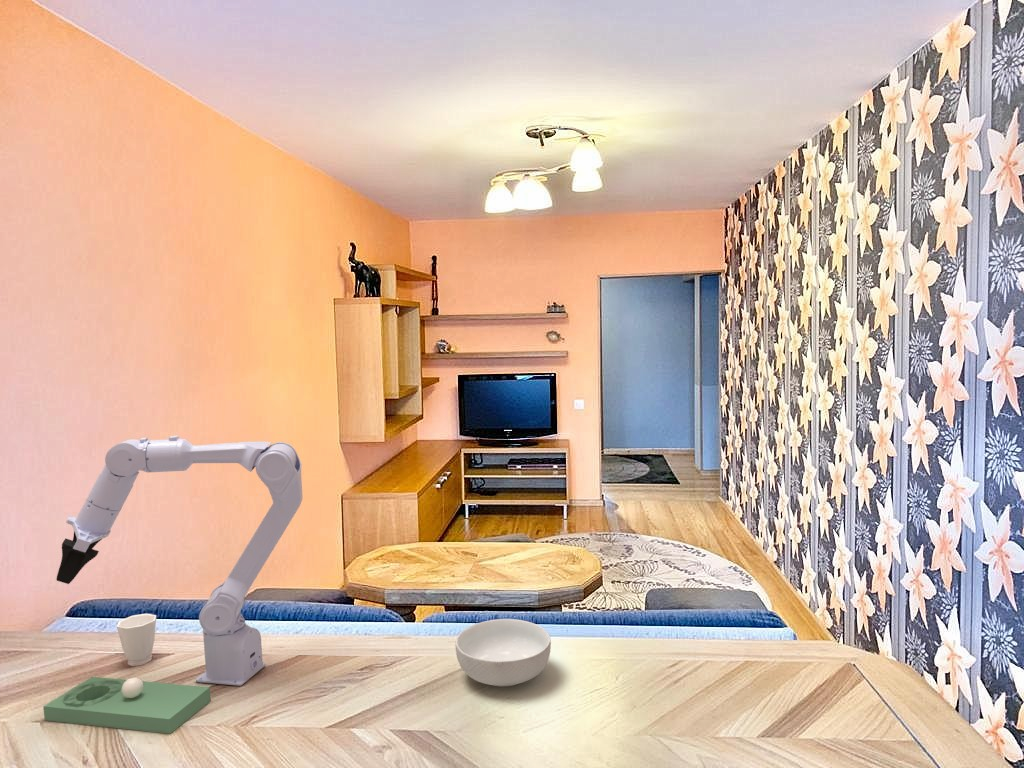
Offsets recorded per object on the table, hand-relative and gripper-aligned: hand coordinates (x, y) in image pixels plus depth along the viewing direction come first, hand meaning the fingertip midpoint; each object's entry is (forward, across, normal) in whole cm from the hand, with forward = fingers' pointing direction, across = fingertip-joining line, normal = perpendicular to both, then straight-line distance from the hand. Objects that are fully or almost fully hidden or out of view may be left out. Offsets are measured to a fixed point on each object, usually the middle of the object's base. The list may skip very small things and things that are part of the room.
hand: (67, 572), depth 123 cm
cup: (+16, -8, +18) cm, 26 cm away
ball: (+10, +13, +17) cm, 24 cm away
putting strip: (+13, +13, +18) cm, 26 cm away
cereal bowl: (-18, +29, +72) cm, 79 cm away
